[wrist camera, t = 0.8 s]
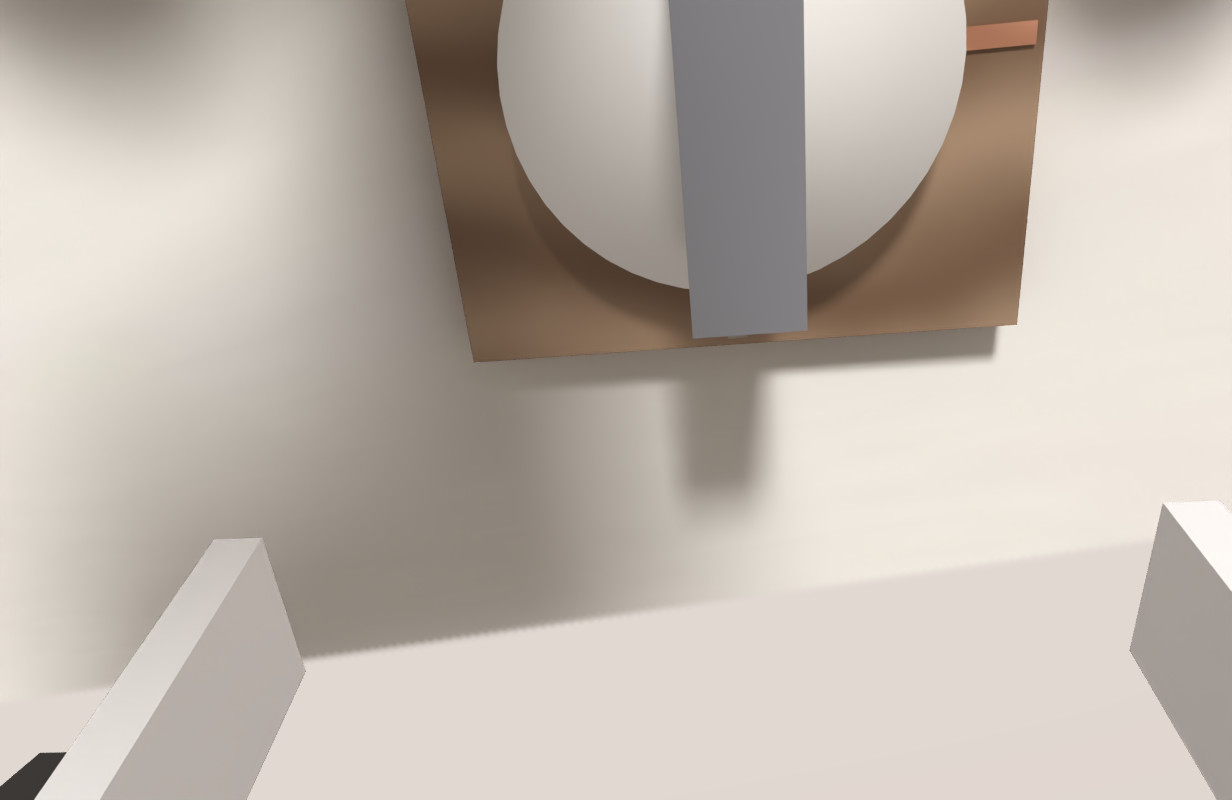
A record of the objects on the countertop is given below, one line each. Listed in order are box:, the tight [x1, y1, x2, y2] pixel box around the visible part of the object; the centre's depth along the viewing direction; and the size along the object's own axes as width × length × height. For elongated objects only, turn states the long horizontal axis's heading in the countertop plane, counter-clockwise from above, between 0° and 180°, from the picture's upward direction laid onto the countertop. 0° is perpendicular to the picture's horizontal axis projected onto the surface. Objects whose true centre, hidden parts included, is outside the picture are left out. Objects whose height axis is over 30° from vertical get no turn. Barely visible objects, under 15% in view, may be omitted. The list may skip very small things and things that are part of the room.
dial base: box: [406, 0, 1048, 362], centre depth 32 cm, size 20×20×2 cm
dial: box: [497, 0, 966, 339], centre depth 27 cm, size 14×14×9 cm
